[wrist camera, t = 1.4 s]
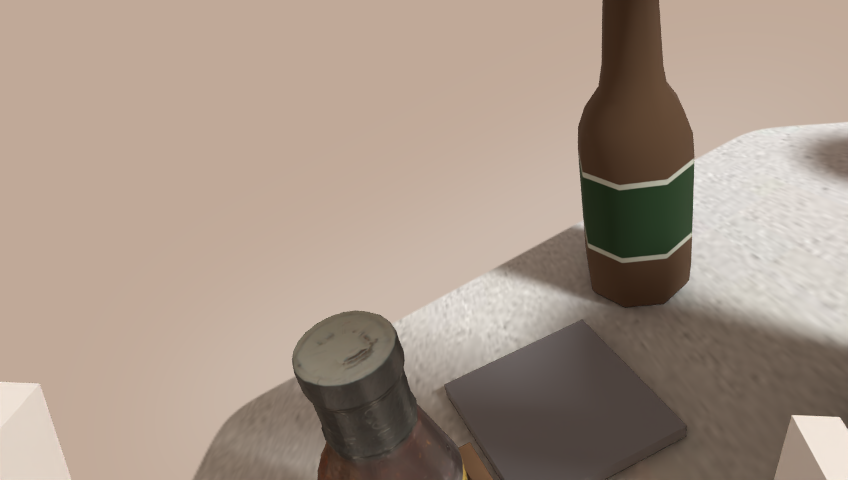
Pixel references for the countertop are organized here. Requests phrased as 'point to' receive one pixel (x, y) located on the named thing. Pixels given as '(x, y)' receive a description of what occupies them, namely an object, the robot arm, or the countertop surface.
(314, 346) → the sauce bottle
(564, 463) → the rubber mat
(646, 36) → the beer bottle
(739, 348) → the countertop surface
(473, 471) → the collar
